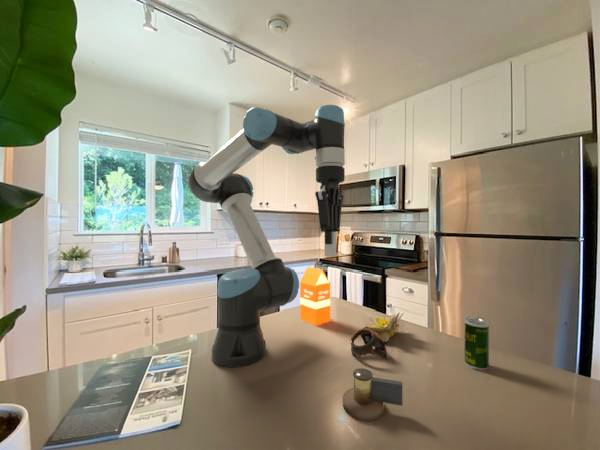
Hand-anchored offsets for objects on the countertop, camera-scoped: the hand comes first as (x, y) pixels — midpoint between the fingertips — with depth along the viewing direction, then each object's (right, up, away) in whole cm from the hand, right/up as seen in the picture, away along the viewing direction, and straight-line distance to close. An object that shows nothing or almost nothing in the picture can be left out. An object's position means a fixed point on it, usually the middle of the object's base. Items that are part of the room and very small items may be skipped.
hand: (330, 256), depth 72 cm
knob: (+7, -27, -18) cm, 33 cm away
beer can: (+38, -29, -1) cm, 47 cm away
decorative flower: (+20, -29, +18) cm, 39 cm away
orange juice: (-2, -28, +32) cm, 43 cm away
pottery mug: (+11, -29, +5) cm, 31 cm away
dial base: (+5, -29, -17) cm, 34 cm away
